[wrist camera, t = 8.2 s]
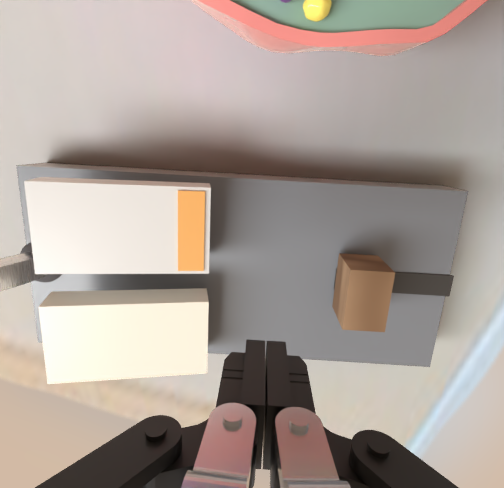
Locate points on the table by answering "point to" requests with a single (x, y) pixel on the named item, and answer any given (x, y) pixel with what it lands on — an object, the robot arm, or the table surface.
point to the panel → (297, 259)
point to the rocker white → (118, 226)
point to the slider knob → (362, 292)
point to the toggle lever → (17, 270)
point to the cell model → (339, 23)
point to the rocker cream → (124, 334)
